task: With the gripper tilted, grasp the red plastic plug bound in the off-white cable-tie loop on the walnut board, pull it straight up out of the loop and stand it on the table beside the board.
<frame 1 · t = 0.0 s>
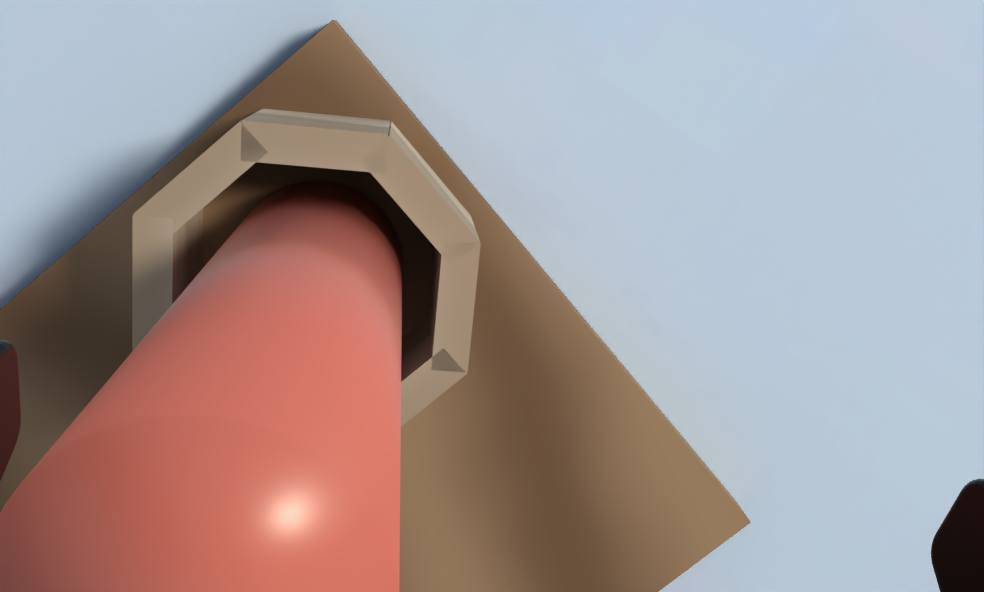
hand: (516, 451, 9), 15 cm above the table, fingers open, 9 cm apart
red plug: (319, 263, 23), point 1 cm above the table, touching walnut board
walnut board: (269, 512, 26), on the table
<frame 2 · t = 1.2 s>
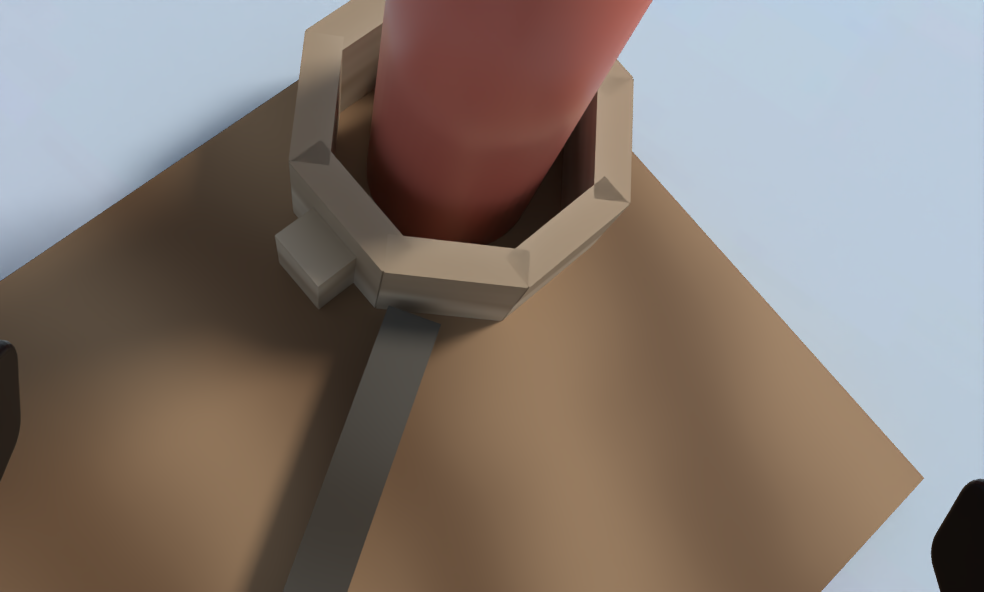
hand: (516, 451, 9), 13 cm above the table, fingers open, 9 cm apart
red plug: (450, 171, 22), point 1 cm above the table, touching walnut board
walnut board: (374, 485, 21), on the table
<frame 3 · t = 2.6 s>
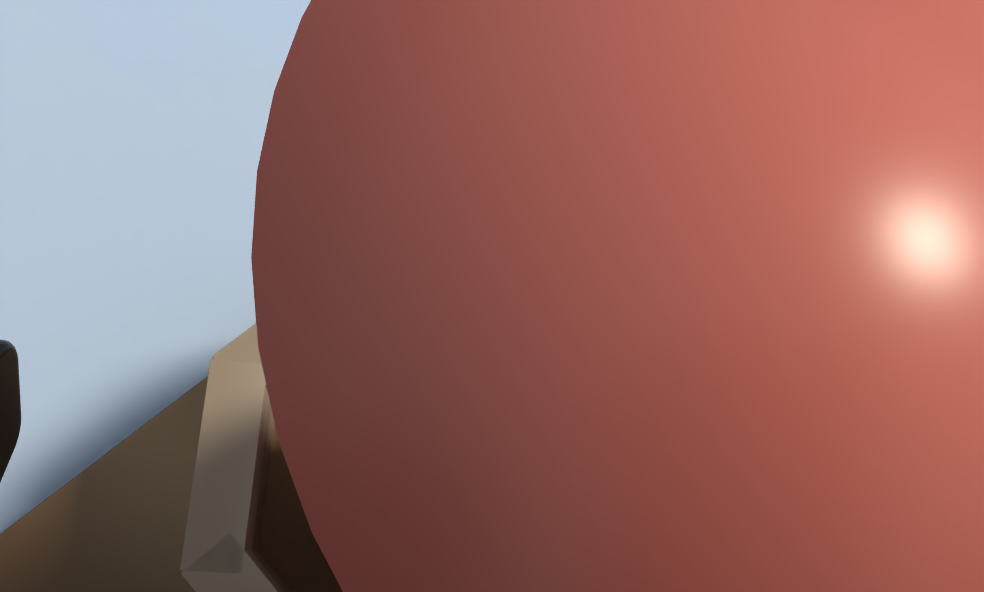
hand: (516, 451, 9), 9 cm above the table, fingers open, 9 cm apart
red plug: (427, 492, 16), point 1 cm above the table, touching walnut board
when the fingers open (8 cm above the table, at t = 7.1 s): red plug drops 2 cm, on the table.
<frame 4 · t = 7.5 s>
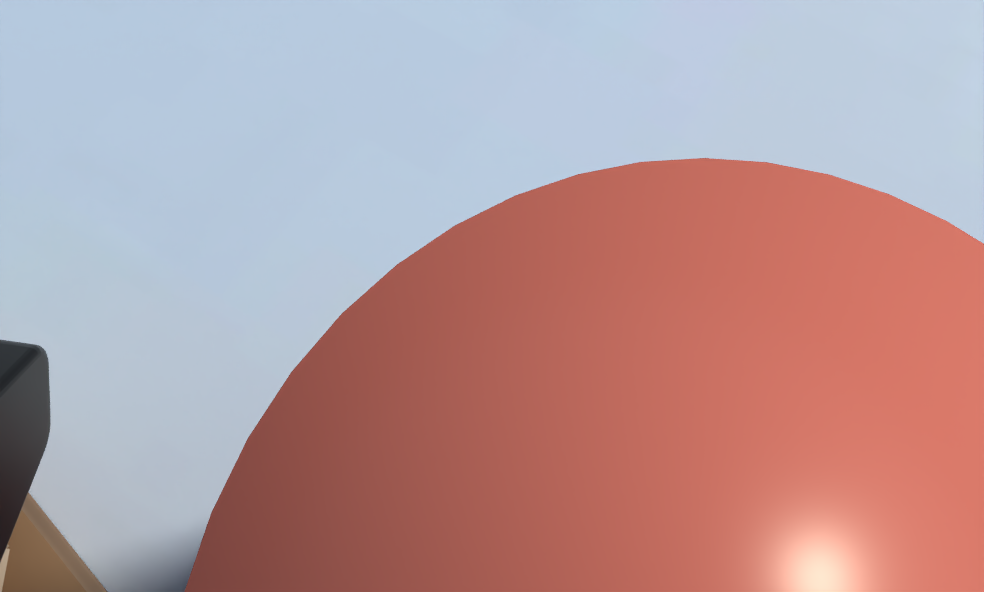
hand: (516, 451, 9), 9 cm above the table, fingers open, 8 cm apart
red plug: (411, 574, 17), on the table
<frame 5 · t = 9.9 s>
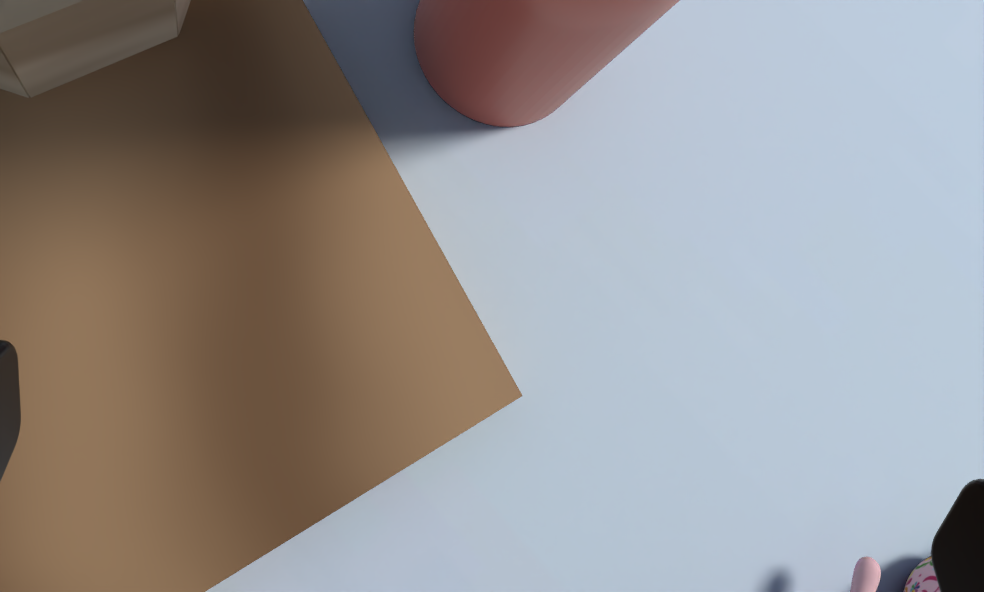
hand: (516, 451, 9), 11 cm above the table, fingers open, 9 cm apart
red plug: (500, 41, 21), on the table
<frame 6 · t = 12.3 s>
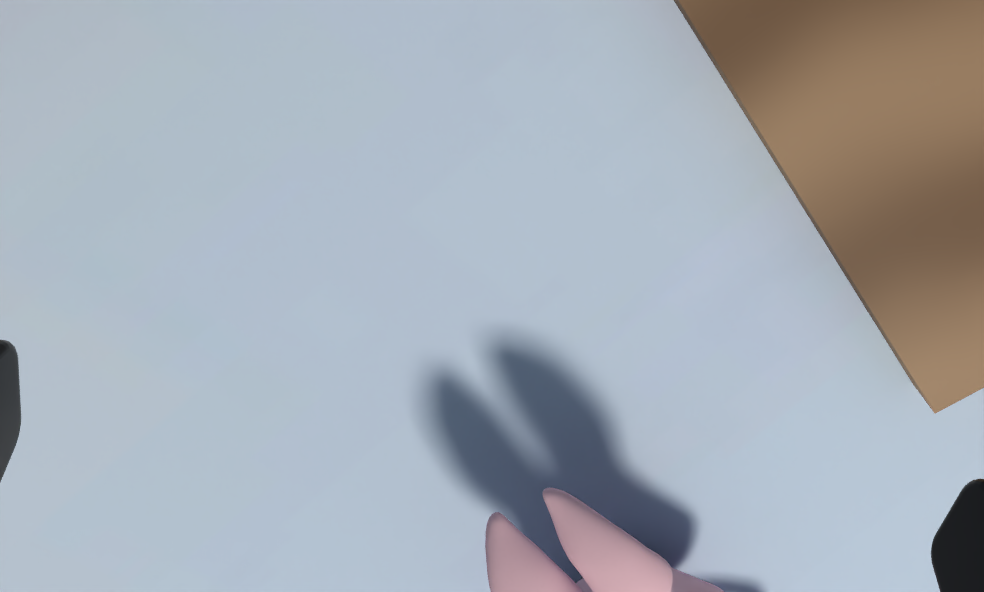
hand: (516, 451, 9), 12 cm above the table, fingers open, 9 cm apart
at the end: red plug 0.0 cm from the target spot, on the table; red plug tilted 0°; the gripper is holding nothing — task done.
